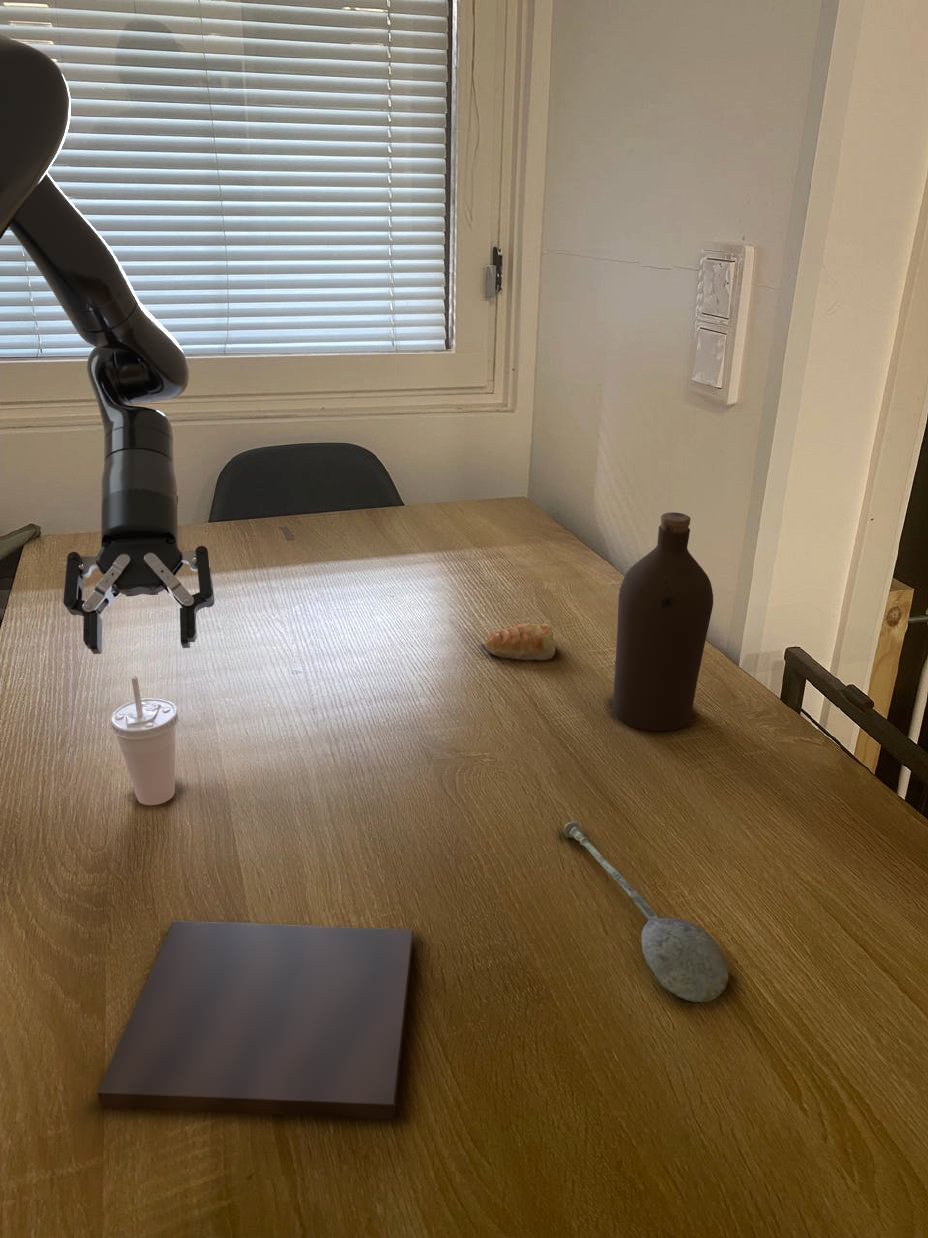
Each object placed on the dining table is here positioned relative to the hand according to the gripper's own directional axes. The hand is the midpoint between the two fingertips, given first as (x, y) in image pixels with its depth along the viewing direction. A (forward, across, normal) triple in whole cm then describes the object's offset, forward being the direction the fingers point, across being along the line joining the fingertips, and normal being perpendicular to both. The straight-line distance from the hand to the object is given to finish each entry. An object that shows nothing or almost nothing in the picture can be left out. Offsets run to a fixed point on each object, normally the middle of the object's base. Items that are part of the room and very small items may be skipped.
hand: (141, 648), depth 91 cm
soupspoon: (+31, +43, -9) cm, 53 cm away
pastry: (-4, +46, +26) cm, 53 cm away
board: (+35, +11, -14) cm, 39 cm away
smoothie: (+13, 0, +8) cm, 16 cm away
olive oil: (+8, +57, +13) cm, 59 cm away
